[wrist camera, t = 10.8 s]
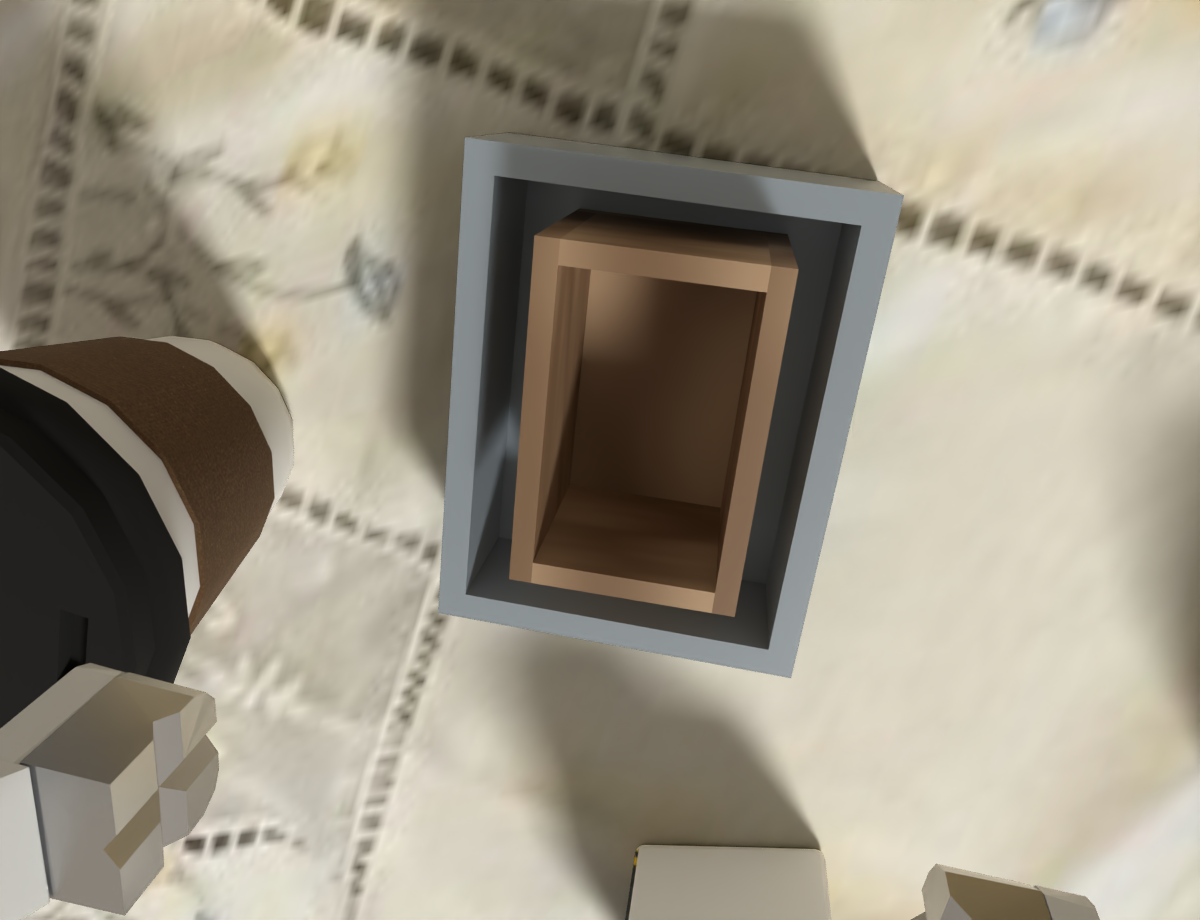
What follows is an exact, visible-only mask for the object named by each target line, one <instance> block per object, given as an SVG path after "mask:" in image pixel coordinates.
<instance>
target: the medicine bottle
mask: <svg viewBox="0 0 1200 920" xmlns="http://www.w3.org/2000/svg"><path fill="white" fill-rule="evenodd" d="M625 920H831V911H830V901H829V891H828V882H827V872H826V862H825V858H824V855H823V853H822V852H821V851H819V850H817V849H795V848H755V847H714V846H674V845H641V846H639V847H638V848H637V850H636V852H635V858H634V865H633V871H632V878H631V885H630V891H629V898H628V904H627V911H626V918H625Z"/></svg>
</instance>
